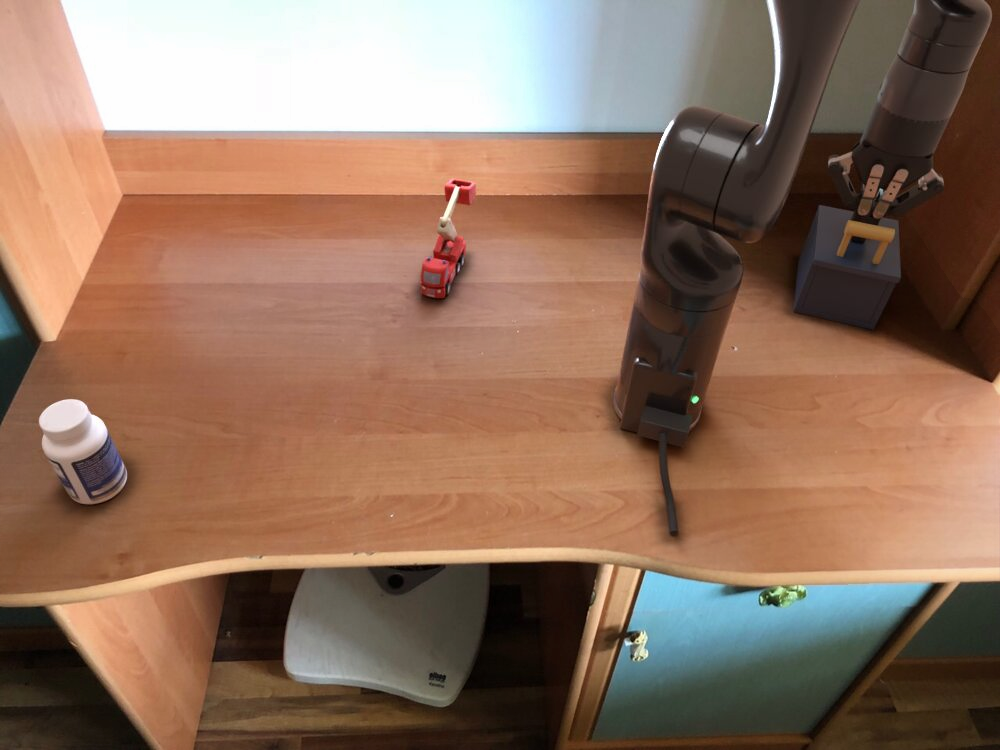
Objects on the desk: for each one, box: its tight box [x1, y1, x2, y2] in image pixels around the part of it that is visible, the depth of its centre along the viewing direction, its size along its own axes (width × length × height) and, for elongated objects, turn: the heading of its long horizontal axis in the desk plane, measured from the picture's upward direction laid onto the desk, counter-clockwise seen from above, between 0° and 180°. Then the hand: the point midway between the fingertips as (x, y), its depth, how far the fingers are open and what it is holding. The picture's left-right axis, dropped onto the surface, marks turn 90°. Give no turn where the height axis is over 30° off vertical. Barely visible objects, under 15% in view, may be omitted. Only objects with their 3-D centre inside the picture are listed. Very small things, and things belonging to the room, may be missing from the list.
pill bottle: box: [38, 398, 128, 505], centre depth 73 cm, size 5×5×10 cm
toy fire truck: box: [420, 178, 477, 299], centre depth 99 cm, size 3×14×10 cm, turn 165°
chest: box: [792, 211, 897, 330], centre depth 99 cm, size 12×10×8 cm
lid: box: [813, 204, 902, 284], centre depth 94 cm, size 12×10×5 cm
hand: (857, 238), depth 95 cm, fingers closed
